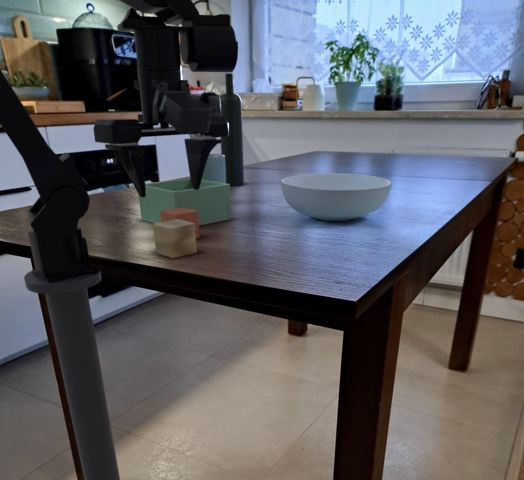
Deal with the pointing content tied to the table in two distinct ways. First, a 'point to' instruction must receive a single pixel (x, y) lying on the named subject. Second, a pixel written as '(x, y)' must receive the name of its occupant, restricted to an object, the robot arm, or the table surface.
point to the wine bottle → (232, 134)
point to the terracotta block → (182, 216)
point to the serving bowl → (335, 195)
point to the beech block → (175, 238)
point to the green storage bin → (187, 200)
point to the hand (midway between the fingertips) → (170, 193)
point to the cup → (215, 168)
